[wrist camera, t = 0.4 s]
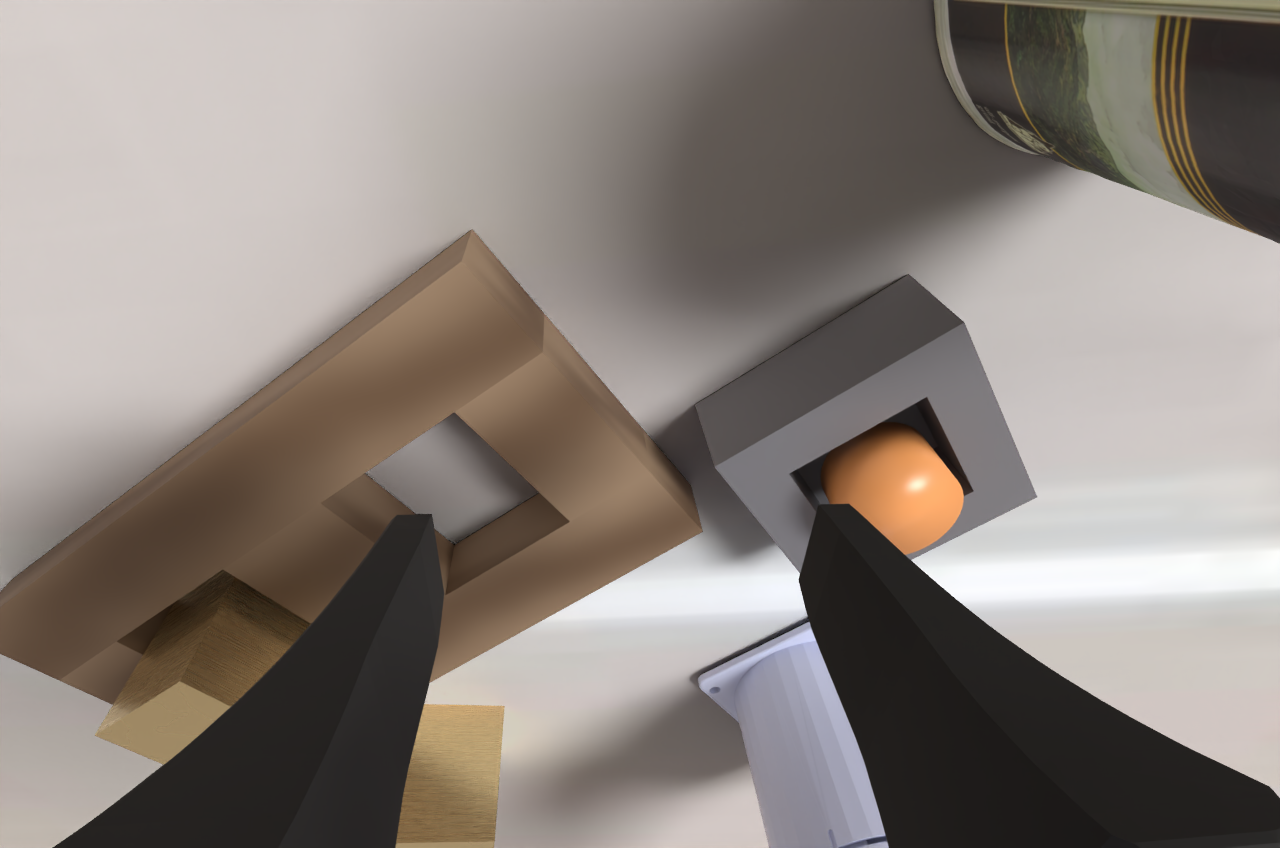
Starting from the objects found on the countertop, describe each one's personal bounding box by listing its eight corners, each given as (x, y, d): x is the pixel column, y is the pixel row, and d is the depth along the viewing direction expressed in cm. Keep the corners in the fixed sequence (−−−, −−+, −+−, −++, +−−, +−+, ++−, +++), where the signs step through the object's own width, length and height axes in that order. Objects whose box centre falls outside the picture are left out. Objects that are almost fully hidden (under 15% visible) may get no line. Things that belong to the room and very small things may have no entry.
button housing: (982, 436, 25) (1037, 497, 22) (795, 535, 27) (823, 602, 24) (908, 274, 21) (964, 322, 18) (694, 404, 23) (714, 466, 20)
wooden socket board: (691, 485, 25) (702, 531, 23) (285, 719, 30) (265, 773, 28) (472, 229, 19) (461, 261, 17) (11, 579, 24) (-39, 636, 22)
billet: (341, 594, 26) (292, 737, 22) (272, 637, 27) (210, 784, 23) (256, 537, 24) (179, 681, 20) (184, 586, 25) (94, 735, 20)
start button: (943, 474, 22) (978, 520, 20) (846, 524, 23) (872, 574, 21) (905, 402, 21) (940, 446, 19) (802, 460, 21) (825, 508, 20)
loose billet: (504, 705, 32) (494, 841, 27) (498, 752, 34) (487, 886, 29) (417, 703, 31) (390, 843, 26) (416, 751, 33) (391, 888, 28)
